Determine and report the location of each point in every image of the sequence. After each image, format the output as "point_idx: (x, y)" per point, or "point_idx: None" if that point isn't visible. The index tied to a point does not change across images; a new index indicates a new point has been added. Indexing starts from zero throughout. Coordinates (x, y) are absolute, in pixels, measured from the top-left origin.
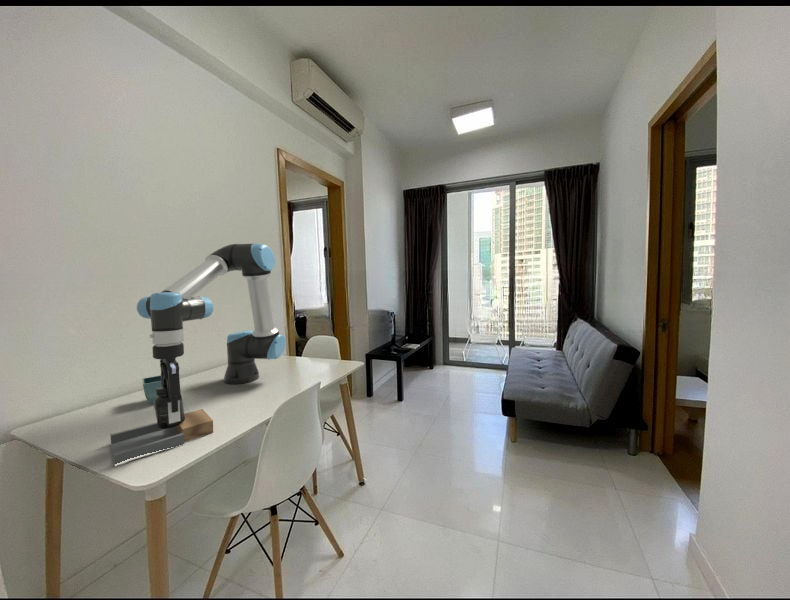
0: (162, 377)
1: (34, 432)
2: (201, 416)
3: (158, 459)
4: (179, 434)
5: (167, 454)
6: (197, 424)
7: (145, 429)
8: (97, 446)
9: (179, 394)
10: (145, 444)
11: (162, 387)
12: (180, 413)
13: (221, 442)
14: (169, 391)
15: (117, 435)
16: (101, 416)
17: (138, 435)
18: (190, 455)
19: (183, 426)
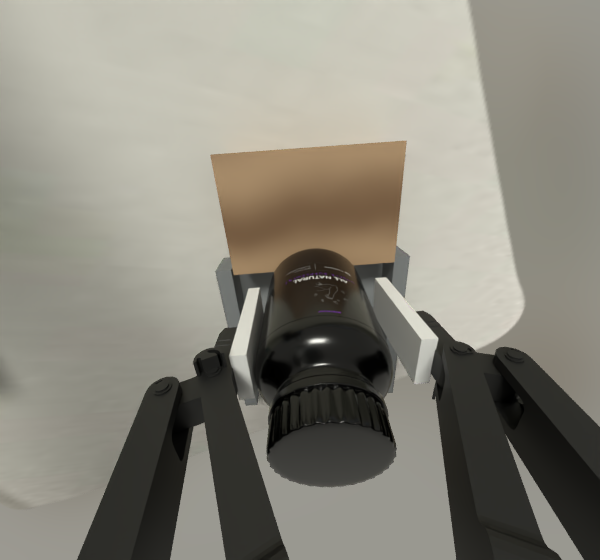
0: (172, 530)
1: (76, 485)
2: (316, 178)
3: (427, 303)
4: (397, 267)
5: (418, 285)
6: (396, 209)
7: None
8: (241, 400)
9: (545, 382)
10: (387, 344)
11: (337, 470)
12: (360, 283)
13: (489, 136)
14: (523, 453)
15: (256, 391)
16: (13, 410)
17: None
18: (481, 238)
19: (372, 256)
